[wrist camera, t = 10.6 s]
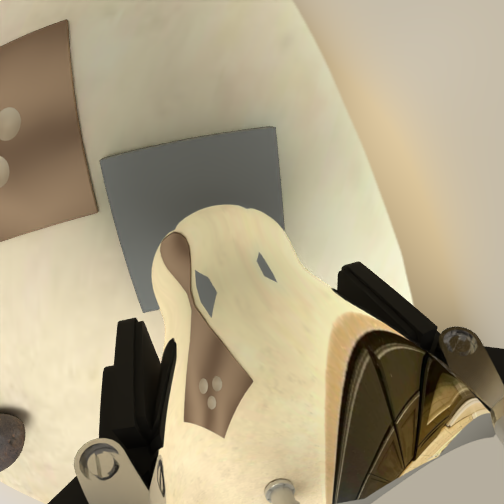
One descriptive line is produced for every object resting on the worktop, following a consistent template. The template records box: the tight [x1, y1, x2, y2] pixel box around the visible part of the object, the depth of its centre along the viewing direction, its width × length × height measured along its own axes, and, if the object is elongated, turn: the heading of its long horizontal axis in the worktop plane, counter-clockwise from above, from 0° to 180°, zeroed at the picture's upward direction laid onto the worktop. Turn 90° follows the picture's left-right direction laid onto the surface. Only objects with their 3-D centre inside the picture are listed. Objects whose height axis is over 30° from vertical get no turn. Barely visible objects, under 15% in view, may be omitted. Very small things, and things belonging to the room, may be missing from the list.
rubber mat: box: [100, 126, 285, 313], centre depth 19 cm, size 10×10×1 cm
